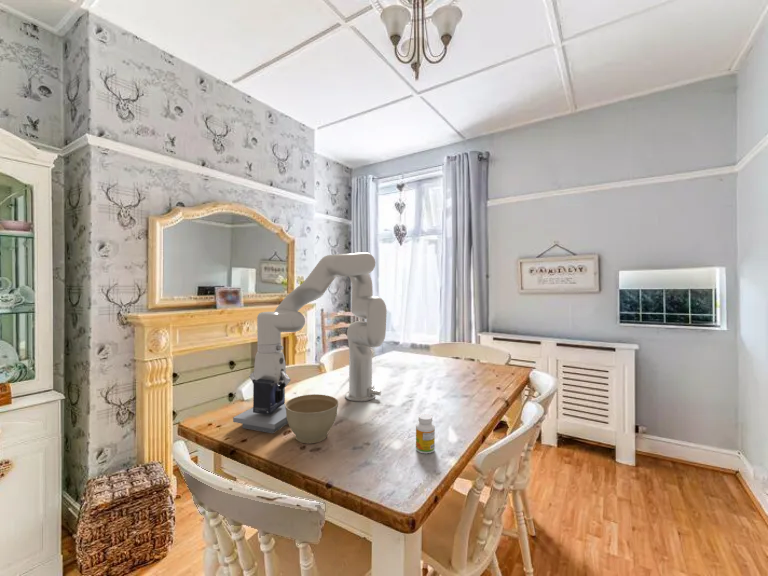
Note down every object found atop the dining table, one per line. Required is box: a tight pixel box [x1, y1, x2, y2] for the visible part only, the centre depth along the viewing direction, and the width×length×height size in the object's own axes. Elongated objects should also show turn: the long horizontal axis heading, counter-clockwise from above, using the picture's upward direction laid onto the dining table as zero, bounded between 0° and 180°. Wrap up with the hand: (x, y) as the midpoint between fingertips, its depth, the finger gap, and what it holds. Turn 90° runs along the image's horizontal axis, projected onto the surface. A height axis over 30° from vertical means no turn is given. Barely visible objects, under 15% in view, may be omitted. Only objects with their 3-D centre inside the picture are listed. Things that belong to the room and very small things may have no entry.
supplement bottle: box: [415, 413, 436, 454], centre depth 100 cm, size 5×5×10 cm
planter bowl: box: [284, 393, 339, 444], centre depth 107 cm, size 16×16×11 cm
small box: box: [252, 379, 286, 414], centre depth 117 cm, size 11×6×10 cm, turn 168°
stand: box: [232, 403, 289, 434], centre depth 117 cm, size 16×16×4 cm
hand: (269, 399), depth 117 cm, fingers closed on small box, 6 cm apart
